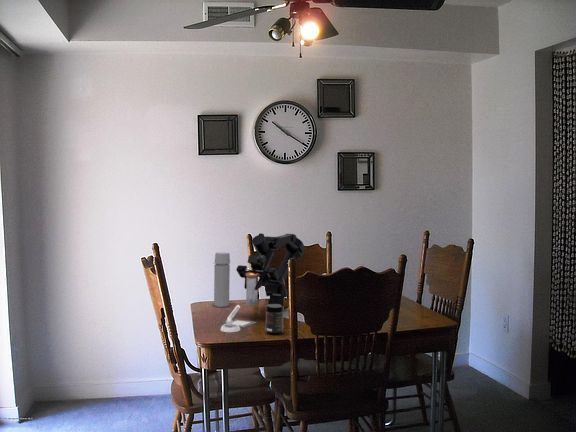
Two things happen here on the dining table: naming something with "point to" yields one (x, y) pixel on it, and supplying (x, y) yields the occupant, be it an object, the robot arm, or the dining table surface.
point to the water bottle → (221, 279)
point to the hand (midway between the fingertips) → (250, 288)
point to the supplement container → (274, 319)
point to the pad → (242, 323)
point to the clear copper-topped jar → (251, 288)
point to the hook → (231, 322)
